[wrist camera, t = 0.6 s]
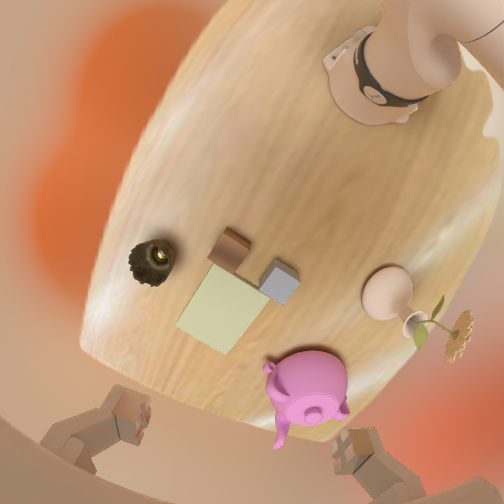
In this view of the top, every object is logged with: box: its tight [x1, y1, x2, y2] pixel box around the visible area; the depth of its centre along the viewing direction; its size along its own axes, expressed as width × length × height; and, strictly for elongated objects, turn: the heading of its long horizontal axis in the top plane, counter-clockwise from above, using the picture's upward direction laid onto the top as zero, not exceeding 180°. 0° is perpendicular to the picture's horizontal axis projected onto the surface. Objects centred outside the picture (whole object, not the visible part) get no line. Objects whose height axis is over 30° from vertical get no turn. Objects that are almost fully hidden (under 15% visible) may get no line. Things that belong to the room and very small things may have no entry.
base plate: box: [175, 263, 270, 355], centre depth 52 cm, size 16×12×1 cm
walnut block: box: [207, 227, 251, 274], centre depth 46 cm, size 5×5×5 cm
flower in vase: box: [362, 267, 474, 363], centre depth 38 cm, size 13×11×25 cm
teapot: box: [263, 351, 350, 449], centre depth 50 cm, size 22×22×14 cm
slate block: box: [259, 258, 301, 305], centre depth 48 cm, size 5×5×5 cm
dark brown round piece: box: [128, 240, 175, 287], centre depth 46 cm, size 8×7×8 cm
